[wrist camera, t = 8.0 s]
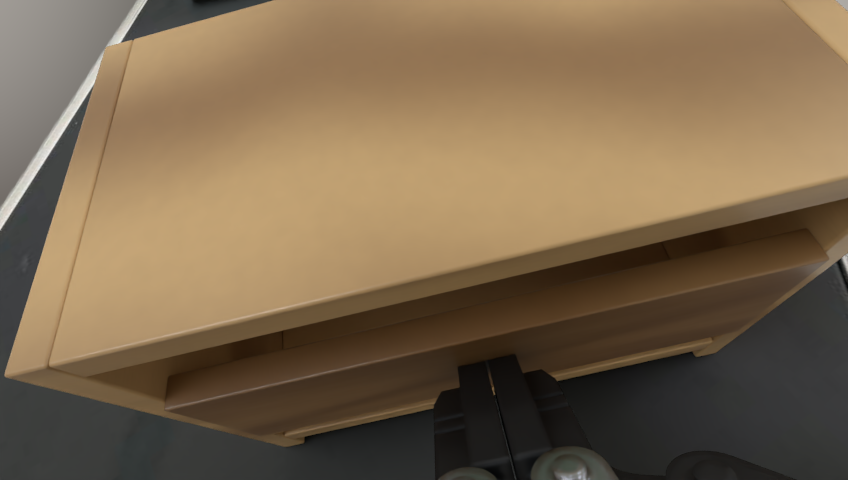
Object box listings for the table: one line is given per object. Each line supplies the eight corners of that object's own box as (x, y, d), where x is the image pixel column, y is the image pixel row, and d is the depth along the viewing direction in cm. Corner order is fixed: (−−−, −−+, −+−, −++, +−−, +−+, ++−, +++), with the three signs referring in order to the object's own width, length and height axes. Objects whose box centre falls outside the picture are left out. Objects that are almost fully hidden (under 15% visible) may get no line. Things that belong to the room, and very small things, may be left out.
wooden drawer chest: (720, 358, 16) (1012, 150, 7) (284, 453, 17) (-3, 389, 8) (617, 161, 21) (701, -121, 11) (282, 244, 22) (104, 46, 12)
